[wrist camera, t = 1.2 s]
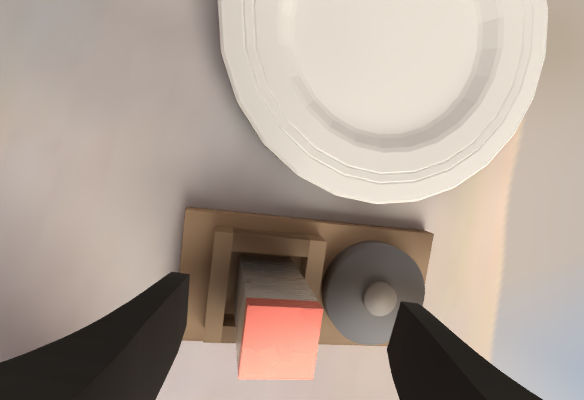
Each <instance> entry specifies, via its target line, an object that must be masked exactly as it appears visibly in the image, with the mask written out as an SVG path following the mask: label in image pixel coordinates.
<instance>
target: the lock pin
mask: <svg viewBox="0 0 584 400" xmlns="http://www.w3.org/2000/svg"><path fill="white" fill-rule="evenodd" d="M322 315H323V308H322V306H321V305H320V303H319V301H318V300H317V298H316V297H315V295H314V293H313V292H312V290H311V289H310V287H309V285H308V284H307V282H306V281H305V279H304V277H303V276H302V274H301V273H300V271H299V269H298V268H297V266H296V265H295V263H294V261H293V260H292V258H281V257H268V256H255V255H242V254H240V257H239V266H238V274H237V282H236V291H235V299H234V316H235V332H236V348H237V364H238V379H308V380H313V375H314V368H315V362H316V355H317V348H318V341H319V335H320V328H321V321H322Z"/></svg>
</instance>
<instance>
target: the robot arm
mask: <svg viewBox="0 0 584 400" xmlns="http://www.w3.org/2000/svg"><path fill="white" fill-rule="evenodd" d="M189 281H190V274H184V273H176V272H171V273H169V274H168V275H166V276H165V277H163V278H162V279H161V280H159V281H158V282H156V283H155V284H154V285H152V286H151V287H149V288H148V289H147V290H145V291H144V292H142V293H141V294H139V295H138V296H136V297H135V298H133V299H132V300H131V301H129V302H128V303H126V304H124V305H123V306H121V307H119V308H118V309H116V310H114V311H113V312H111V313H110V314H108V315H106V316H105V317H103V318H101V319H99V320H98V321H96V322H94V323H92V324H90V325H88V326H86V327H84V328H82V329H80V330H78V331H76V332H74V333H72V334H70V335H68V336H66V337H64V338H62V339H59V340H57V341H55V342H52V343H50V344H47V345H45V346H43V347H40V348H38V349H36V350H33V351H31V352H28V353H26V354H23V355H20V356H18V357H15V358H12V359H10V360H7V361H4V362H1V363H0V400H155V399H156V397H157V395H158V393H159V391H160V389H161V387H162V385H163V383H164V381H165V379H166V376H167V374H168V372H169V370H170V368H171V366H172V364H173V362H174V359H175V357H176V355H177V353H178V350H179V347H180V344H181V341H182V338H183V335H184V332H185V329H186V326H187V314H188V298H189ZM387 352H388V358H389V363H390V368H391V373H392V377H393V381H394V384H395V387H396V390H397V393H398V396H399V399H400V400H543V399H541V398H539V397H538V396H536V395H535V394H533V393H532V392H530V391H529V390H527V389H526V388H524V387H523V386H521V385H520V384H518V383H517V382H515V381H514V380H512V379H511V378H510V377H508V376H507V375H505V374H504V373H502V372H501V371H500V370H498V369H497V368H496V367H495V366H493V365H492V364H491V363H489V362H488V361H487V360H486V359H484V358H483V357H482V356H480V355H479V354H478V353H477V352H475V351H474V350H473V349H472V348H471V347H469V346H468V345H467V344H466V343H465V342H463V341H462V340H461V339H460V338H459V337H458V336H456V335H455V334H454V333H453V332H452V331H451V330H449V329H448V328H447V327H446V326H445V325H444V324H443V323H441V322H440V321H439V320H438V319H437V318H436V317H435V316H433V315H432V314H431V313H430V312H429V311H427V310H426V309H425V308H424V307H422V306H421V305H420V304H418V303H412V302H404V301H401V302H400V306H399V309H398V312H397V316H396V319H395V323H394V326H393V330H392V333H391V337H390V340H389V344H388V347H387Z"/></svg>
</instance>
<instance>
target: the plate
mask: <svg viewBox="0 0 584 400" xmlns="http://www.w3.org/2000/svg"><path fill="white" fill-rule="evenodd" d="M218 14H219V29H220V45H221V54H222V57H223V60H224V63H225V66H226V69H227V73H228V76H229V79H230V82H231V85H232V88H233V91H234V94H235V97H236V100H237V103H238V104H239V106H240V108H241V109H242V111H243V112H244V114H245V116H246V117H247V119H248V120H249V122H250V123H251V125H252V127H253V128H254V130H255V131H256V133H257V135H258V136H259V138H260V139H261V141H262V142H263V144H264V145H265V146H266V147H267V148H268V149H270V150H271V151H272V152H273V153H274V154H275V155H276V156H277V157H278V158H279V159H280V160H281V161H282V162H283V163H285V164H286V165H287V166H288V167H289V168H290V169H291V170H292V171H293V172H294V173H295V174H296V175H298V176H300V177H301V178H303V179H305V180H307V181H309V182H311V183H313V184H315V185H317V186H319V187H320V188H322V189H324V190H326V191H328V192H330V193H332V194H334V195H336V196H340V197H345V198H349V199H354V200H359V201H364V202H368V203H373V204H387V203H401V202H416V201H419V200H422V199H425V198H428V197H430V196H433V195H436V194H439V193H442V192H444V191H447V190H450V189H453V188H455V187H456V186H458V185H459V184H461V183H462V182H464V181H465V180H466V179H468V178H469V177H471V176H472V175H474V174H475V173H477V172H478V171H479V170H481V169H482V168H484V167H485V166H487V165H488V164H489V162H490V161H491V160H492V159H493V158H494V157H495V156H496V154H497V153H498V152H499V151H500V150H501V149H502V148H503V146H504V145H505V144H506V143H507V142H508V141H509V140H510V139H511V137H512V136H513V135H514V134H515V132H516V130H517V128H518V126H519V124H520V122H521V120H522V119H523V117H524V115H525V113H526V111H527V109H528V107H529V105H530V104H531V102H532V100H533V98H534V95H535V91H536V88H537V84H538V81H539V77H540V73H541V69H542V66H543V63H544V59H545V55H546V38H547V21H548V7H547V0H218Z"/></svg>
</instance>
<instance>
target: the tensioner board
mask: <svg viewBox="0 0 584 400" xmlns="http://www.w3.org/2000/svg"><path fill="white" fill-rule="evenodd" d="M433 235H434V234H432V233H430V232H427V231H423V230H413V229H403V228H393V227H383V226H373V225H363V224H353V223H343V222H333V221H323V220H313V219H303V218H293V217H283V216H274V215H264V214H254V213H244V212H234V211H224V210H214V209H204V208H194V207H187V208H186V210H185V220H184V229H183V239H182V249H181V259H180V269H179V273H184V274H190V281H189V298H188V314H187V326H186V329H185V332H184V335H183V338H182V340H187V341H203V342H210V343H236V332H235V316H234V299H235V291H236V282H237V274H238V266H239V257H240V254H242V255H255V256H268V257H281V258H292V260H293V261H294V263H295V265H296V266H297V268H298V269H299V271H300V273H301V274H302V276H303V277H304V279H305V281H306V282H307V284H308V285H309V287H310V289H311V290H312V292H313V293H314V295H315V297H316V298H317V300H318V301H319V303H320V305H321V306H322V308H323V315H322V321H321V328H320V335H319V341H318V344H329V345H365V346H388V344H389V340H390V337H391V333H392V330H393V326H394V323H395V319H396V316H397V312H398V309H399V306H400V302H401V301H404V302H412V303H418V304H420V305H421V306H422V305H423V301H424V295H425V279H426V274H427V268H428V263H429V257H430V252H431V246H432V241H433Z"/></svg>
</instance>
